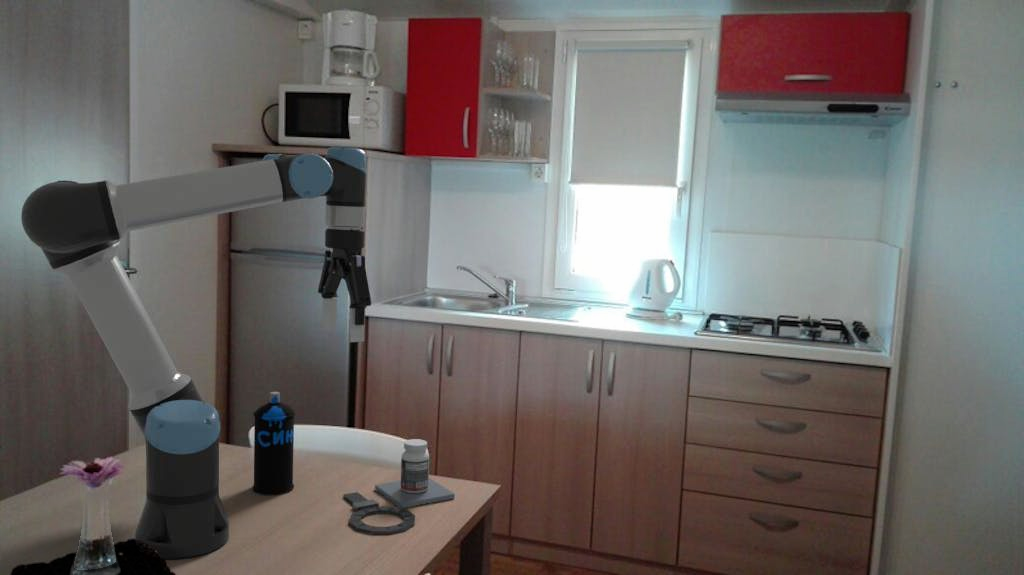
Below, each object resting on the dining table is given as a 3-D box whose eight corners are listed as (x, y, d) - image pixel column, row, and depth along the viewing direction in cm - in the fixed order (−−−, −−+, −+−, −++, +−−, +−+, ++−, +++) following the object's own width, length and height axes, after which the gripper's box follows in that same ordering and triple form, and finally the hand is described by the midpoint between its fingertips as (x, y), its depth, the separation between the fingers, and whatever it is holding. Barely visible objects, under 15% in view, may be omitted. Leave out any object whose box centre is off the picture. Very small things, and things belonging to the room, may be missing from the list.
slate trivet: (401, 508, 166) (401, 503, 166) (375, 489, 176) (375, 484, 176) (454, 498, 173) (454, 493, 173) (426, 480, 183) (426, 476, 183)
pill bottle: (403, 483, 178) (405, 437, 177) (430, 485, 177) (432, 439, 176) (397, 493, 172) (399, 445, 171) (425, 495, 172) (427, 447, 170)
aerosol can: (250, 483, 176) (251, 389, 174) (290, 479, 180) (292, 387, 177) (254, 497, 169) (256, 398, 167) (297, 493, 172) (298, 396, 170)
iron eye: (366, 538, 152) (366, 533, 151) (322, 501, 168) (322, 496, 168) (426, 526, 158) (426, 521, 158) (377, 491, 175) (377, 486, 175)
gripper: (391, 232, 158) (387, 345, 160) (337, 224, 178) (335, 324, 180) (353, 232, 153) (350, 348, 156) (303, 224, 174) (301, 326, 176)
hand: (342, 335), depth 168 cm, fingers open, 13 cm apart
